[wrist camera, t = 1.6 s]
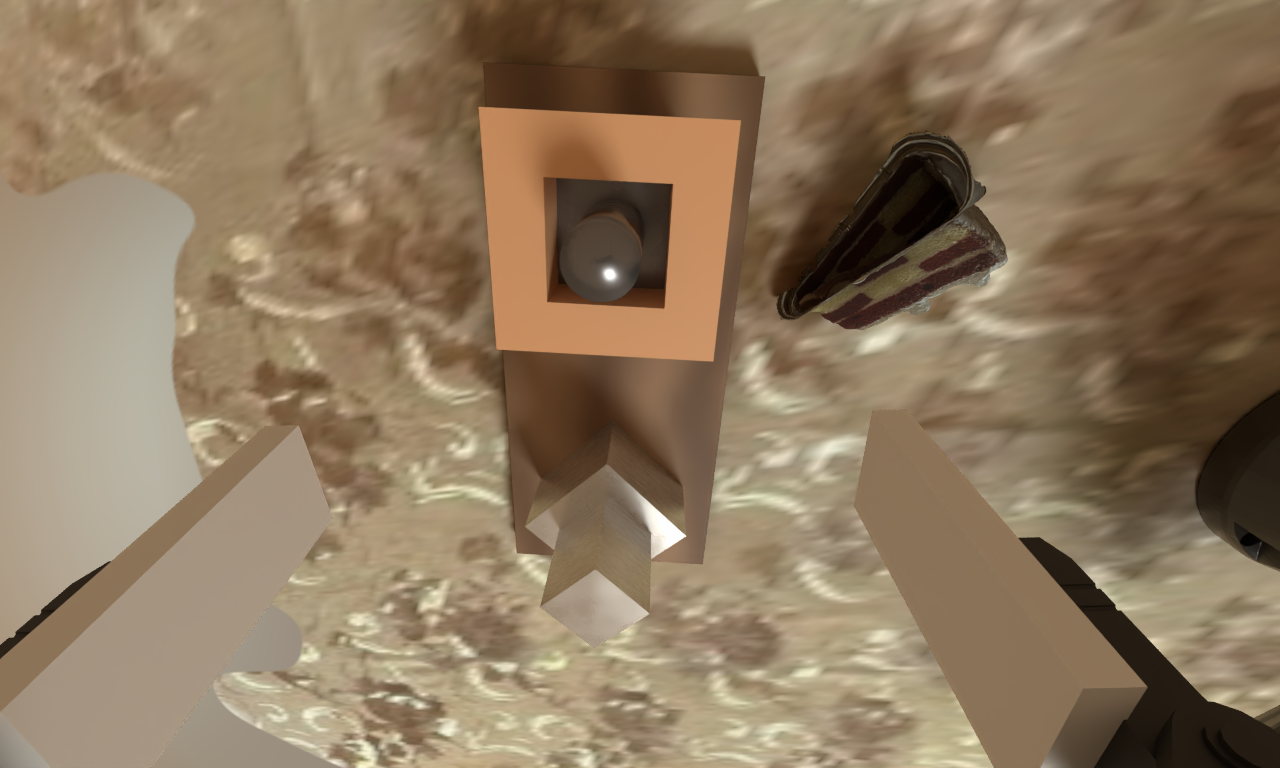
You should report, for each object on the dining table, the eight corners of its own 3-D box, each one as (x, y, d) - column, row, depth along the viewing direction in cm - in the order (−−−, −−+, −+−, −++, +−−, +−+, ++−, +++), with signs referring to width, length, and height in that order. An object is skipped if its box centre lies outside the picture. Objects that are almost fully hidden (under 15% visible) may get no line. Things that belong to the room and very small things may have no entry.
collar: (731, 119, 24) (741, 120, 21) (708, 337, 28) (713, 361, 25) (499, 107, 24) (478, 106, 21) (512, 326, 28) (496, 349, 25)
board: (760, 78, 28) (765, 76, 27) (701, 550, 43) (702, 564, 41) (491, 64, 29) (483, 62, 27) (521, 539, 43) (516, 553, 41)
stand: (688, 149, 29) (703, 167, 19) (678, 280, 32) (686, 355, 22) (554, 142, 29) (499, 156, 19) (557, 274, 32) (511, 345, 22)
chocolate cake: (845, 367, 36) (1057, 333, 26) (769, 325, 33) (978, 267, 23) (863, 243, 39) (1063, 167, 29) (795, 192, 36) (993, 87, 25)
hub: (613, 420, 36) (596, 535, 26) (682, 486, 38) (690, 616, 28) (540, 478, 38) (499, 604, 28) (610, 537, 40) (594, 674, 30)
